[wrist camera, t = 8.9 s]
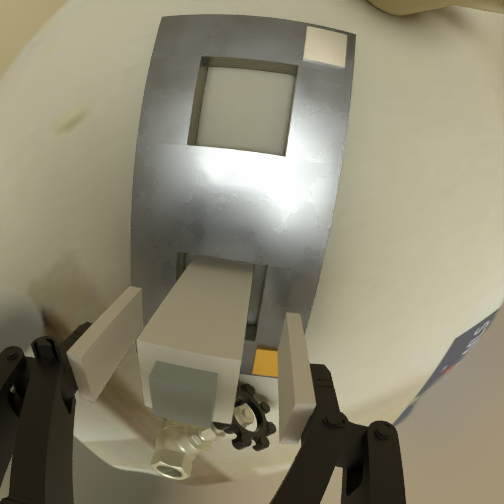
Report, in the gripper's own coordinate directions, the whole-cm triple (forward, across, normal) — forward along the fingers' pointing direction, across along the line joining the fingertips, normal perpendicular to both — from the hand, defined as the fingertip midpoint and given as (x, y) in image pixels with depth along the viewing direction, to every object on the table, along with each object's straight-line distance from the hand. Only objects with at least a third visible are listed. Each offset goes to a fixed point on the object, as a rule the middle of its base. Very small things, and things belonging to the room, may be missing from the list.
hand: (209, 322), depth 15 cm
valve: (+5, 0, -14) cm, 15 cm away
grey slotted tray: (+5, 0, +6) cm, 8 cm away
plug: (+5, 0, 0) cm, 5 cm away
